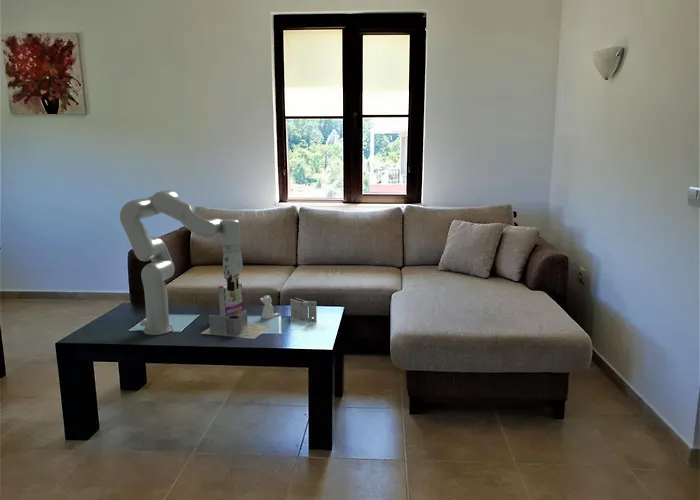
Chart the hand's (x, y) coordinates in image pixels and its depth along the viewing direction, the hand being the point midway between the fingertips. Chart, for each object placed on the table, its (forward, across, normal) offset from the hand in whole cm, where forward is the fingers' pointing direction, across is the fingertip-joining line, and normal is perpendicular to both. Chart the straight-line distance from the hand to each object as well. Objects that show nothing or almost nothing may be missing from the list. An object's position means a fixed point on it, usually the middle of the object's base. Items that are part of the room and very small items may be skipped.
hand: (233, 289), depth 237 cm
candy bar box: (+21, +24, +14) cm, 35 cm away
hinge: (+21, +28, -22) cm, 41 cm away
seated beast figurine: (+21, +26, -5) cm, 34 cm away
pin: (+3, 0, 0) cm, 3 cm away
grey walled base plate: (+21, +5, +1) cm, 21 cm away
